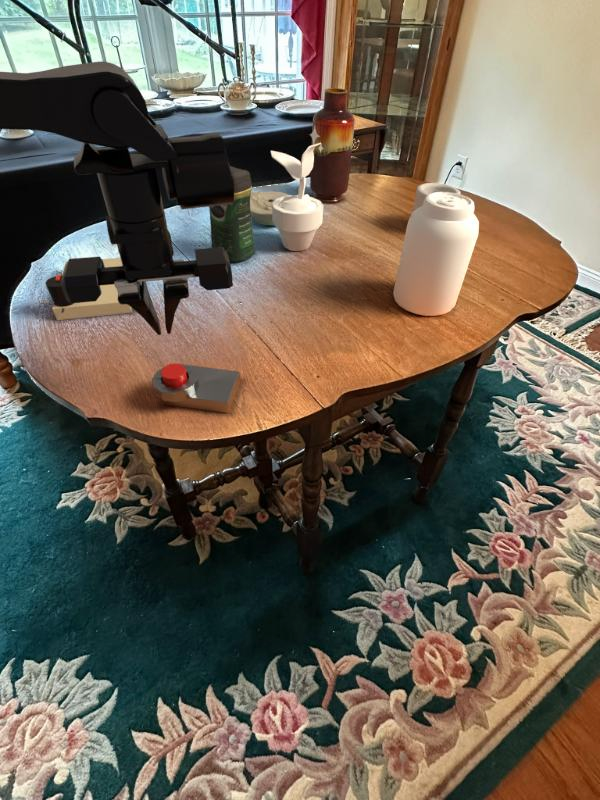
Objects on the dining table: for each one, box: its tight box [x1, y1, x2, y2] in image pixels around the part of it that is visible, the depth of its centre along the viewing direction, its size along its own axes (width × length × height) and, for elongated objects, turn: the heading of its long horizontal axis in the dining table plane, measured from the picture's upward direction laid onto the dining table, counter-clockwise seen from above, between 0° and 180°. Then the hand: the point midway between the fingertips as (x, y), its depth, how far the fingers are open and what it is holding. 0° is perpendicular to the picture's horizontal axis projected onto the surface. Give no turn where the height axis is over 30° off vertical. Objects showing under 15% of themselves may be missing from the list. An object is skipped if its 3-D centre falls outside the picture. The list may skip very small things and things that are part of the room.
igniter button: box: [161, 363, 187, 388], centre depth 62 cm, size 3×3×2 cm
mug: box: [411, 182, 462, 214], centre depth 110 cm, size 14×11×10 cm
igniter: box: [151, 363, 241, 414], centre depth 65 cm, size 11×8×4 cm
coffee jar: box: [208, 165, 256, 263], centre depth 93 cm, size 10×8×19 cm
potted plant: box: [270, 127, 324, 252], centre depth 95 cm, size 13×12×25 cm
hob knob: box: [45, 273, 74, 307], centre depth 77 cm, size 4×4×4 cm
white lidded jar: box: [392, 192, 480, 317], centre depth 81 cm, size 12×12×20 cm
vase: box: [309, 87, 356, 204], centre depth 118 cm, size 11×11×26 cm
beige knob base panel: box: [40, 257, 133, 321], centre depth 84 cm, size 15×20×3 cm
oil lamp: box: [250, 191, 291, 226], centre depth 113 cm, size 21×14×5 cm
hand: (164, 332), depth 57 cm, fingers closed
